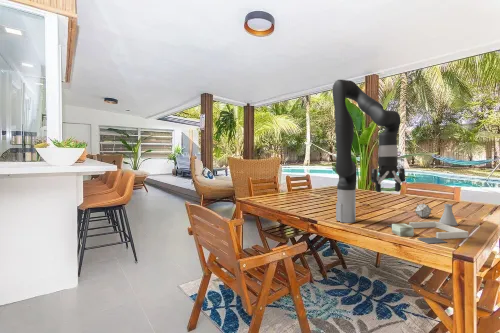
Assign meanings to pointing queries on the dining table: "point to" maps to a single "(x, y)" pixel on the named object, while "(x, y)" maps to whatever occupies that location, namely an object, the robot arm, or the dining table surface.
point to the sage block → (403, 229)
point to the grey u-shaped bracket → (451, 230)
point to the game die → (423, 210)
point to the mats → (429, 239)
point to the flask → (448, 216)
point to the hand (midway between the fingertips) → (388, 191)
